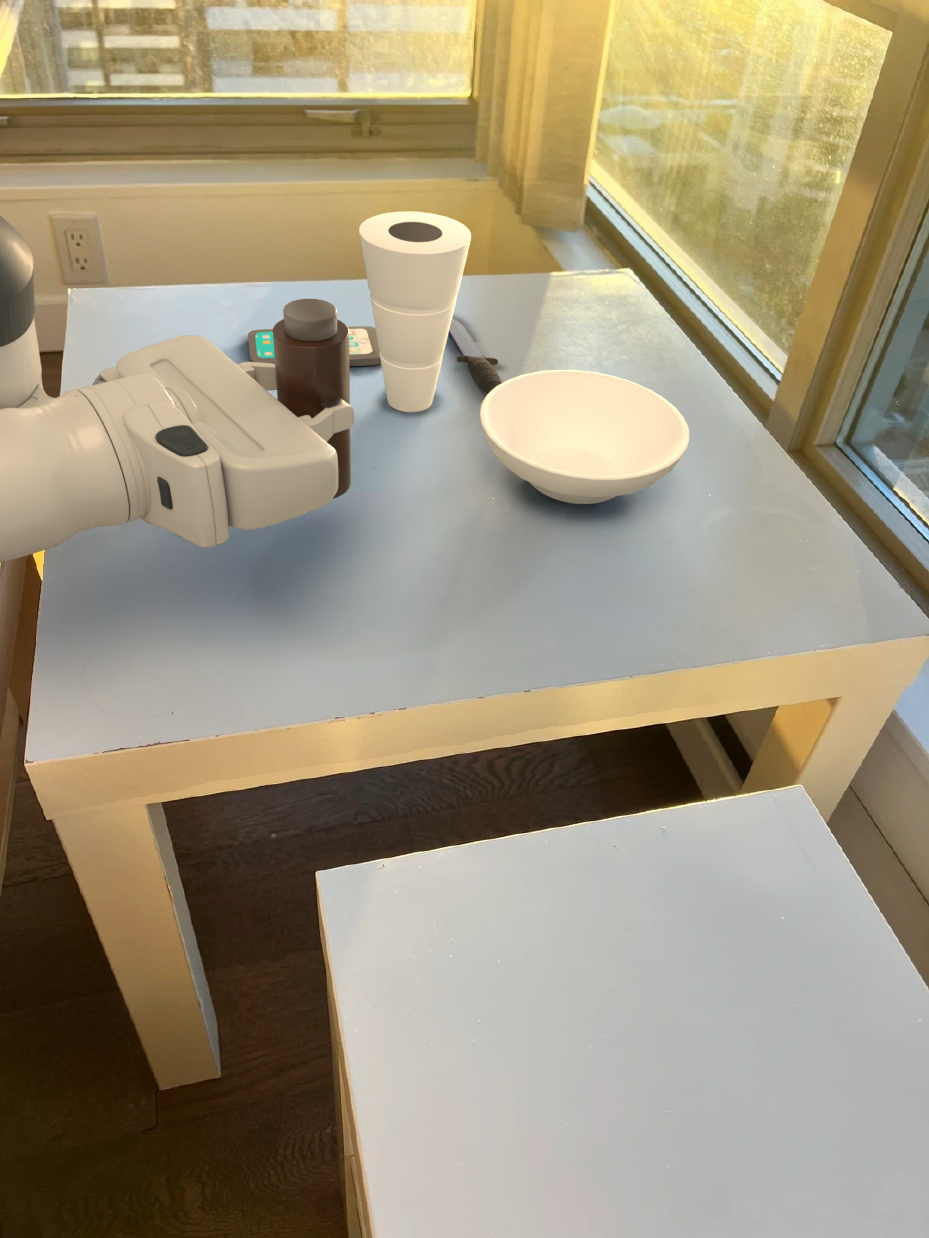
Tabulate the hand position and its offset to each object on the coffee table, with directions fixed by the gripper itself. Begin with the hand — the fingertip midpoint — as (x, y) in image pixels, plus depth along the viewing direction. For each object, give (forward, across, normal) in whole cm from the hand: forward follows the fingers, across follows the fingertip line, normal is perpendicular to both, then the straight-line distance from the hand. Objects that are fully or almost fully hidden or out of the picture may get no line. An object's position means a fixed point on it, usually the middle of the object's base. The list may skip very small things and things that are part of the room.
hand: (324, 392), depth 70 cm
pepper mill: (-1, 0, -8) cm, 8 cm away
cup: (+22, -20, -17) cm, 34 cm away
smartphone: (+20, -35, -17) cm, 43 cm away
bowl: (+27, +1, -17) cm, 32 cm away
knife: (+34, -24, -17) cm, 45 cm away
